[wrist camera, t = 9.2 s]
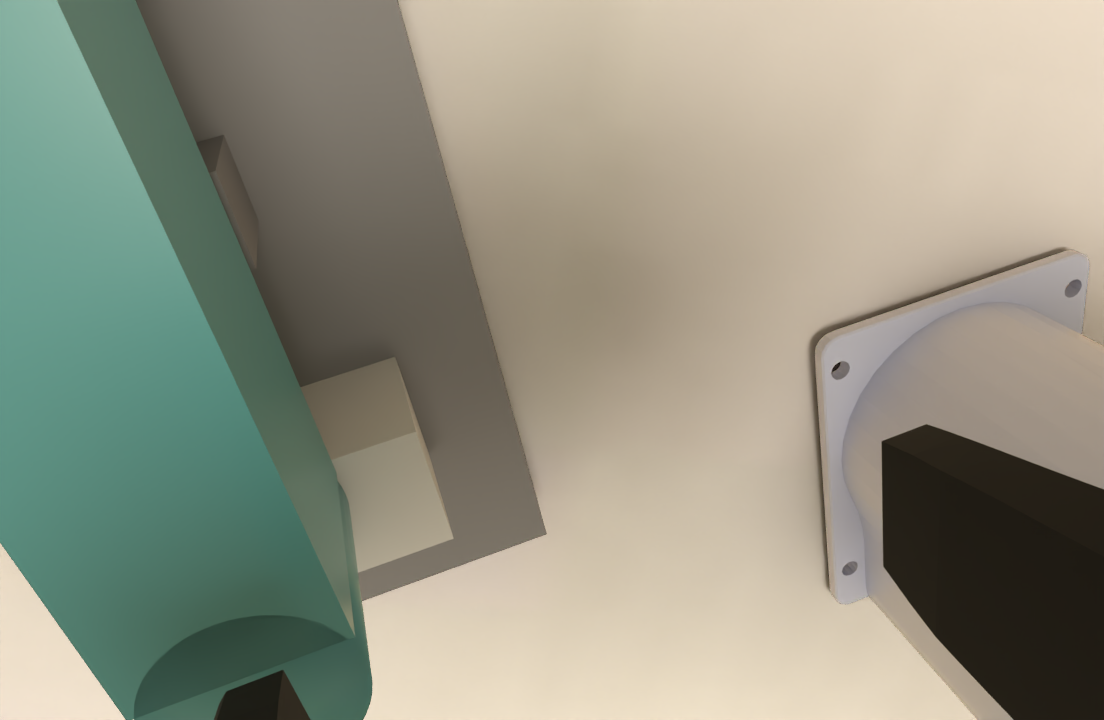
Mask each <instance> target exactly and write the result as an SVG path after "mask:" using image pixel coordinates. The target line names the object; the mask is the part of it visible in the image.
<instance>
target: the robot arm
mask: <svg viewBox="0 0 1104 720" xmlns="http://www.w3.org/2000/svg"><path fill="white" fill-rule="evenodd" d="M1088 275H1089V259H1088V257H1087V256H1086V255H1084V254H1082V253H1079V252H1077V251H1074V250H1066V251H1063V252H1060V253H1058V254H1055V255H1052V256H1049V257H1046V258H1043V259H1040V260H1037V261H1034V262H1031V263H1028V264H1026V265H1023V266H1020V267H1017V268H1014V269H1011V270H1008V271H1005V272H1002V273H999V274H997V275H994V276H991V277H988V278H985V279H982V280H979V281H976V282H973V283H970V284H968V285H965V286H962V287H959V288H956V289H953V290H950V291H947V292H944V293H941V294H939V295H936V296H933V297H930V298H927V299H924V300H921V301H918V302H915V303H912V304H910V305H907V306H904V307H901V308H898V309H895V310H892V311H889V312H886V313H883V314H880V315H878V316H875V317H872V318H869V319H866V320H863V321H860V322H857V323H854V324H851V325H849V326H846V327H843V328H840V329H837V330H834V331H831V332H829V333H828V334H826V335H824V336H823V337H822V338H821V339H820V340H819V342H818V344H817V346H816V349H815V366H816V382H817V397H818V413H819V428H820V444H821V459H822V475H823V490H824V506H825V521H826V537H827V552H828V567H829V583H830V592H831V595H832V596H833V597H834V598H835V600H836V601H837V602H839V603H840V604H850V603H853V602H855V601H858V600H860V599H863V598H866V597H868V596H869V597H870V598H871V599H872V601H873V602H874V603H875V604H876V605H877V606H878V607H879V609H880V610H881V611H882V612H883V613H884V614H885V615H886V617H887V618H888V619H889V620H890V621H891V622H892V623H893V624H894V626H895V627H896V628H897V629H898V630H899V631H900V632H901V634H902V635H903V636H904V637H905V638H906V639H907V640H908V642H909V643H910V644H911V645H912V646H913V647H914V648H915V649H916V651H917V652H918V653H919V654H920V655H921V656H922V657H923V659H924V660H925V661H926V662H927V663H928V664H929V665H930V667H931V668H932V669H933V670H934V671H935V672H936V673H937V675H938V676H939V677H940V678H941V679H942V680H943V681H944V682H945V684H946V685H947V686H948V687H949V688H950V689H951V690H952V692H953V693H954V694H955V695H956V696H957V697H958V698H959V700H960V701H961V702H962V703H963V704H964V705H965V706H966V707H967V709H968V710H969V711H970V712H971V713H972V714H973V715H974V717H975V718H976V719H977V720H1104V346H1103V345H1101V344H1099V343H1097V342H1095V341H1093V340H1091V339H1089V338H1087V337H1085V336H1083V335H1082V328H1083V319H1084V310H1085V301H1086V292H1087V284H1088ZM1068 284H1069V285H1068ZM1067 285H1068V286H1067ZM1066 286H1067V288H1066ZM839 362H841V364H840V366H839V368H838V369H837V370H836V371H834V372H832V369H833V367H834V366H835V365H836V364H837V363H839ZM831 372H832V373H831ZM214 720H310V718H309V716H308V714H307V712H306V710H305V709H304V707H303V705H302V703H301V701H300V699H299V698H298V696H297V694H296V692H295V690H294V688H293V686H292V685H291V683H290V681H289V679H288V677H287V675H286V674H285V672H284V670H281V671H278V672H275V673H273V674H270V675H268V676H265V677H262V678H260V679H257V680H255V681H252V682H249V683H247V684H244V685H241V686H239V687H236V688H234V689H231V690H228V691H226V692H225V694H224V696H223V698H222V699H221V701H220V703H219V706H218V709H217V712H216V715H215V718H214Z"/></svg>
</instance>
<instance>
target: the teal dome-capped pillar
mask: <svg viewBox="0 0 1104 720" xmlns="http://www.w3.org/2000/svg"><path fill="white" fill-rule="evenodd" d="M0 543H1V544H2V546H3V547H4V549H5V550H6V551H7V553H8V554H9V556H10V557H11V559H12V560H13V561H14V563H15V564H16V566H17V567H18V568H19V570H20V571H21V573H22V574H23V575H24V577H25V578H26V580H27V581H28V582H29V584H30V585H31V587H32V588H33V589H34V591H35V592H36V594H37V595H38V597H39V598H40V599H41V601H42V602H43V604H44V605H45V606H46V608H47V609H48V611H49V612H50V613H51V615H52V616H53V618H54V619H55V620H56V622H57V623H58V625H59V626H60V628H61V629H62V630H63V632H64V633H65V635H66V636H67V637H68V639H69V640H70V642H71V643H72V644H73V646H74V647H75V649H76V650H77V651H78V653H79V654H80V656H81V657H82V659H83V660H84V661H85V663H86V664H87V666H88V667H89V668H90V670H91V671H92V673H93V674H94V675H95V677H96V678H97V680H98V681H99V682H100V684H101V685H102V687H103V688H104V690H105V691H106V692H107V694H108V695H109V697H110V698H111V699H112V701H113V702H114V704H115V705H116V706H117V708H118V709H119V711H120V712H121V713H122V715H123V716H124V718H125V719H126V720H133V719H134V720H214V718H215V715H216V712H217V709H218V706H219V703H220V701H221V699H222V698H223V696H224V694H225V692H226V691H228V690H231V689H234V688H236V687H239V686H241V685H244V684H247V683H249V682H252V681H255V680H257V679H260V678H262V677H265V676H268V675H270V674H273V673H275V672H278V671H281V670H284V672H285V674H286V675H287V677H288V679H289V681H290V683H291V685H292V686H293V688H294V690H295V692H296V694H297V696H298V698H299V699H300V701H301V703H302V705H303V707H304V709H305V710H306V712H307V714H308V716H309V718H310V720H363V719H364V717H365V715H366V713H367V710H368V707H369V705H370V701H371V696H372V676H371V668H370V661H369V653H368V645H367V638H366V630H365V622H364V615H363V607H362V599H361V592H360V584H359V576H358V568H357V561H356V553H355V545H354V538H353V530H352V522H351V515H350V508H349V502H348V499H347V496H346V494H345V492H344V490H343V488H342V486H341V485H340V483H339V482H338V481H337V473H336V470H335V468H334V465H333V463H332V461H331V458H330V456H329V454H328V451H327V449H326V447H325V444H324V442H323V440H322V437H321V435H320V433H319V430H318V428H317V426H316V423H315V421H314V418H313V416H312V414H311V411H310V409H309V407H308V404H307V402H306V400H305V397H304V395H303V393H302V390H301V388H300V386H299V383H298V381H297V379H296V376H295V374H294V372H293V369H292V367H291V364H290V362H289V360H288V357H287V355H286V353H285V350H284V348H283V346H282V343H281V341H280V339H279V336H278V334H277V332H276V329H275V327H274V325H273V322H272V320H271V318H270V315H269V313H268V310H267V308H266V306H265V303H264V301H263V299H262V296H261V294H260V292H259V289H258V287H257V285H256V282H255V280H254V278H253V275H252V273H251V271H250V268H249V266H248V264H247V261H246V259H245V257H244V254H243V252H242V249H241V247H240V245H239V242H238V240H237V238H236V235H235V233H234V231H233V228H232V226H231V224H230V221H229V219H228V217H227V214H226V212H225V210H224V207H223V205H222V203H221V200H220V198H219V195H218V193H217V191H216V188H215V186H214V184H213V181H212V179H211V177H210V174H209V172H208V170H207V167H206V165H205V163H204V160H203V158H202V156H201V153H200V151H199V149H198V146H197V144H196V141H195V139H194V137H193V134H192V132H191V130H190V127H189V125H188V123H187V120H186V118H185V116H184V113H183V111H182V109H181V106H180V104H179V102H178V99H177V97H176V95H175V92H174V90H173V87H172V85H171V83H170V80H169V78H168V76H167V73H166V71H165V69H164V66H163V64H162V62H161V59H160V57H159V55H158V52H157V50H156V48H155V45H154V43H153V41H152V38H151V36H150V33H149V31H148V29H147V26H146V24H145V22H144V19H143V17H142V15H141V12H140V10H139V8H138V5H137V3H136V1H135V0H0Z"/></svg>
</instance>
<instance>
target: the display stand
mask: <svg viewBox="0 0 1104 720" xmlns="http://www.w3.org/2000/svg"><path fill="white" fill-rule="evenodd" d="M135 1H136V3H137V5H138V8H139V10H140V12H141V15H142V17H143V19H144V22H145V24H146V26H147V29H148V31H149V33H150V36H151V38H152V41H153V43H154V45H155V48H156V50H157V52H158V55H159V57H160V59H161V62H162V64H163V66H164V69H165V71H166V73H167V76H168V78H169V80H170V83H171V85H172V87H173V90H174V92H175V95H176V97H177V99H178V102H179V104H180V106H181V109H182V111H183V113H184V116H185V118H186V120H187V123H188V125H189V127H190V130H191V132H192V134H193V137H194V139H195V141H196V144H197V146H198V149H199V151H200V153H201V156H202V158H203V160H204V163H205V165H206V167H207V170H208V172H209V174H210V177H211V179H212V181H213V184H214V186H215V188H216V191H217V193H218V195H219V198H220V200H221V203H222V205H223V207H224V210H225V212H226V214H227V217H228V219H229V221H230V224H231V226H232V228H233V231H234V233H235V235H236V238H237V240H238V242H239V245H240V247H241V249H242V252H243V254H244V257H245V259H246V261H247V264H248V266H249V268H250V271H251V273H252V275H253V278H254V280H255V282H256V285H257V287H258V289H259V292H260V294H261V296H262V299H263V301H264V303H265V306H266V308H267V310H268V313H269V315H270V318H271V320H272V322H273V325H274V327H275V329H276V332H277V334H278V336H279V339H280V341H281V343H282V346H283V348H284V350H285V353H286V355H287V357H288V360H289V362H290V364H291V367H292V369H293V372H294V374H295V376H296V379H297V381H298V383H299V386H300V388H301V390H302V393H303V395H304V397H305V400H306V402H307V404H308V407H309V409H310V411H311V414H312V416H313V418H314V421H315V423H316V426H317V428H318V430H319V433H320V435H321V437H322V440H323V442H324V444H325V447H326V449H327V451H328V454H329V456H330V458H331V461H332V463H333V465H334V468H335V470H336V473H337V481H338V482H339V483H340V485H341V486H342V488H343V490H344V492H345V494H346V496H347V499H348V502H349V508H350V515H351V522H352V530H353V538H354V545H355V553H356V561H357V568H358V576H359V584H360V592H361V599H362V601H364V600H366V599H369V598H372V597H375V596H377V595H380V594H383V593H386V592H388V591H391V590H394V589H397V588H399V587H402V586H405V585H408V584H410V583H413V582H416V581H419V580H422V579H424V578H427V577H430V576H433V575H435V574H438V573H441V572H444V571H446V570H449V569H452V568H455V567H457V566H460V565H463V564H466V563H468V562H471V561H474V560H477V559H479V558H482V557H485V556H488V555H490V554H493V553H496V552H499V551H501V550H504V549H507V548H510V547H512V546H515V545H518V544H521V543H523V542H526V541H529V540H532V539H534V538H537V537H540V536H543V535H545V534H546V530H545V526H544V523H543V519H542V516H541V512H540V508H539V505H538V501H537V498H536V494H535V491H534V487H533V483H532V480H531V476H530V473H529V469H528V466H527V462H526V458H525V455H524V451H523V448H522V444H521V440H520V437H519V433H518V430H517V426H516V423H515V419H514V415H513V412H512V408H511V405H510V401H509V398H508V394H507V390H506V387H505V383H504V380H503V376H502V372H501V369H500V365H499V362H498V358H497V355H496V351H495V347H494V344H493V340H492V337H491V333H490V330H489V326H488V322H487V319H486V315H485V312H484V308H483V304H482V301H481V297H480V294H479V290H478V287H477V283H476V279H475V276H474V272H473V269H472V265H471V262H470V258H469V254H468V251H467V247H466V244H465V240H464V236H463V233H462V229H461V226H460V222H459V219H458V215H457V211H456V208H455V204H454V201H453V197H452V194H451V190H450V186H449V183H448V179H447V176H446V172H445V168H444V165H443V161H442V158H441V154H440V151H439V147H438V143H437V140H436V136H435V133H434V129H433V126H432V122H431V118H430V115H429V111H428V108H427V104H426V100H425V97H424V93H423V90H422V86H421V83H420V79H419V75H418V72H417V68H416V65H415V61H414V58H413V54H412V50H411V47H410V43H409V40H408V36H407V32H406V29H405V25H404V22H403V18H402V15H401V11H400V7H399V4H398V0H135Z"/></svg>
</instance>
